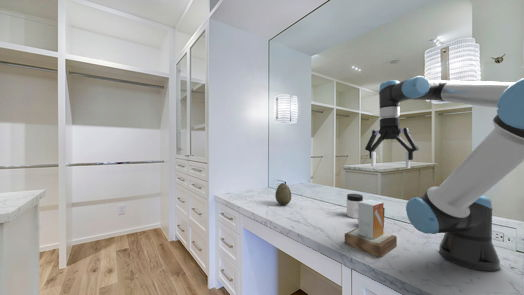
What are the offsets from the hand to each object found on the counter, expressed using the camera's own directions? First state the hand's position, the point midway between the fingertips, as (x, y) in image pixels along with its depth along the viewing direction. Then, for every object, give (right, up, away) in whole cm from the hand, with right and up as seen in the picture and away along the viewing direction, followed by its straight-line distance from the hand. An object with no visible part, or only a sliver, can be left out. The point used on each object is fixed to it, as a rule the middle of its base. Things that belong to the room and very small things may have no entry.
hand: (389, 167), depth 92 cm
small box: (-12, -27, -7) cm, 30 cm away
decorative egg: (-41, -31, +52) cm, 73 cm away
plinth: (-12, -31, -7) cm, 34 cm away
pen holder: (-1, -31, +12) cm, 33 cm away
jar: (-3, -31, +28) cm, 42 cm away
